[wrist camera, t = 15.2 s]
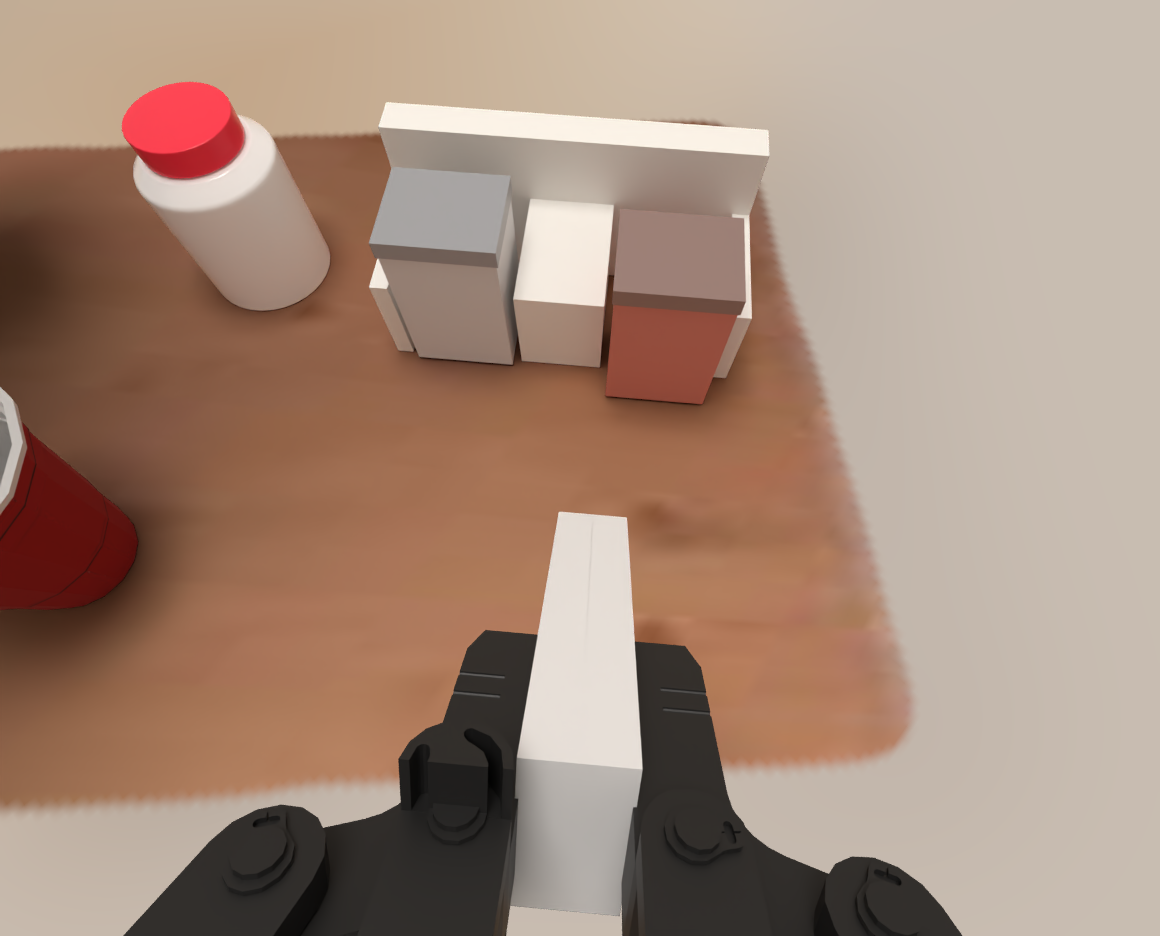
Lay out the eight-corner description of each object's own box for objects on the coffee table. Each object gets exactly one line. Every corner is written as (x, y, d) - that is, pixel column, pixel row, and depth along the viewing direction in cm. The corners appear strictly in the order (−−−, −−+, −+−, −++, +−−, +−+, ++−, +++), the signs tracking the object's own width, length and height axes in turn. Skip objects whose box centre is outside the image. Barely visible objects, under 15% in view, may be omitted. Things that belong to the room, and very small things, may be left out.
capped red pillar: (603, 397, 37) (613, 291, 28) (609, 328, 39) (620, 208, 30) (703, 405, 37) (745, 301, 28) (704, 336, 39) (744, 218, 30)
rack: (398, 350, 38) (343, 232, 29) (427, 238, 42) (386, 102, 33) (725, 378, 38) (774, 266, 29) (725, 261, 42) (768, 130, 32)
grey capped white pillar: (417, 358, 38) (368, 243, 29) (432, 292, 40) (392, 167, 31) (514, 366, 38) (495, 253, 29) (524, 300, 40) (510, 176, 31)
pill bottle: (353, 266, 41) (282, 116, 31) (257, 331, 39) (146, 193, 29) (288, 206, 43) (202, 48, 33) (193, 265, 41) (70, 115, 31)
